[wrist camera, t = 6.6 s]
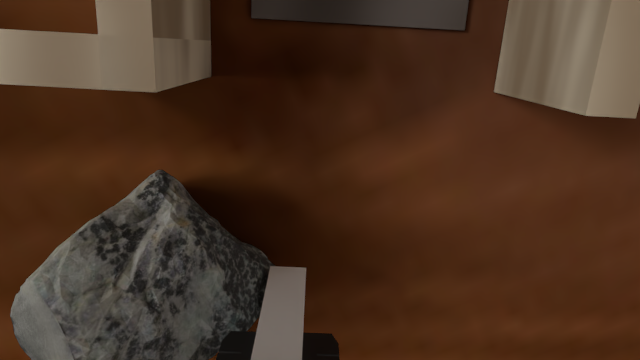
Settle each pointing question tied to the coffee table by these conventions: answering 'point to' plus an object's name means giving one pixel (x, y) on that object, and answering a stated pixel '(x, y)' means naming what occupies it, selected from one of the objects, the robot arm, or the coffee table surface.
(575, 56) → the wooden wall enclosure
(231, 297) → the stone
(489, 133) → the coffee table surface
